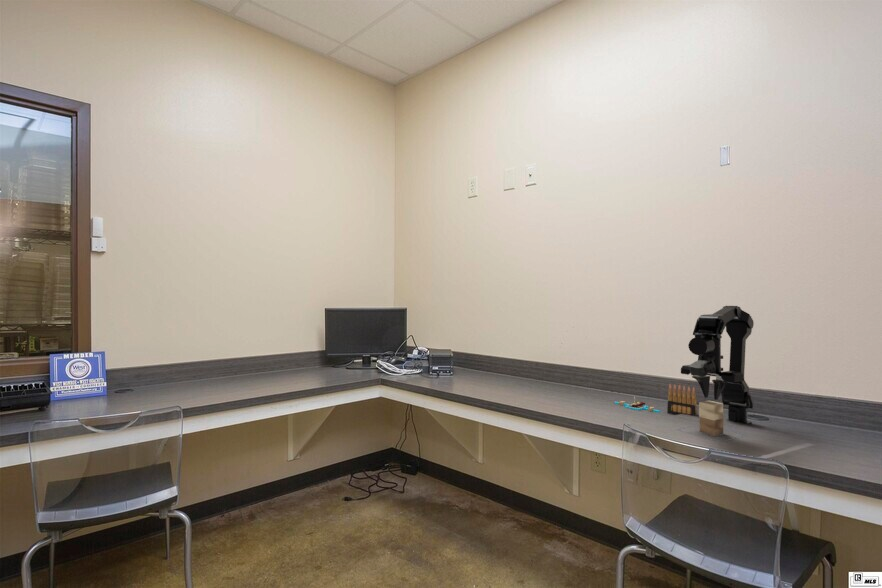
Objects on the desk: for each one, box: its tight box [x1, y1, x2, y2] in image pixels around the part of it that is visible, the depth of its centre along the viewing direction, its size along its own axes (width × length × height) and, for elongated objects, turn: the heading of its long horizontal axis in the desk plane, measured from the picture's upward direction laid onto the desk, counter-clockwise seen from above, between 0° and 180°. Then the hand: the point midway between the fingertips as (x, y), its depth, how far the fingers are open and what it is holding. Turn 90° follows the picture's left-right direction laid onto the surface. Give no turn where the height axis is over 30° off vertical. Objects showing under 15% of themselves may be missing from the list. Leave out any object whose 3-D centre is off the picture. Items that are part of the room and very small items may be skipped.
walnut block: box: [698, 417, 724, 436], centre depth 153 cm, size 5×5×5 cm
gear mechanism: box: [614, 396, 662, 414], centre depth 191 cm, size 20×5×9 cm
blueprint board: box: [676, 424, 748, 443], centre depth 153 cm, size 16×16×1 cm
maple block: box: [698, 400, 724, 420], centre depth 153 cm, size 5×5×5 cm
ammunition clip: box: [666, 383, 698, 417], centre depth 178 cm, size 11×2×12 cm, turn 40°
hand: (711, 398), depth 153 cm, fingers open, 3 cm apart
